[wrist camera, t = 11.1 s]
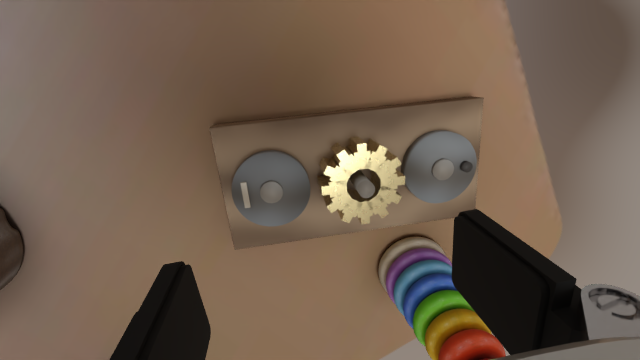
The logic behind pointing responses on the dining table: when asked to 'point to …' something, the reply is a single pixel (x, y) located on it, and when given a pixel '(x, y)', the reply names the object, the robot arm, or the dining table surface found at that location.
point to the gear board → (316, 141)
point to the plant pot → (9, 251)
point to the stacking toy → (435, 302)
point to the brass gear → (348, 163)
